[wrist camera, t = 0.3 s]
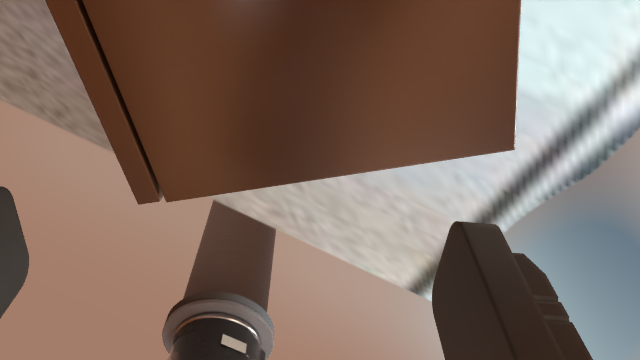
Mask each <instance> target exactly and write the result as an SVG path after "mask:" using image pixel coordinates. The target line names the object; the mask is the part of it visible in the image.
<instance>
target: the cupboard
mask: <svg viewBox="0 0 640 360" xmlns="http://www.w3.org/2000/svg"><path fill="white" fill-rule="evenodd" d="M82 1H83V4H84V6H85V8H86V11H87V13H88V16H89V18H90V20H91V23H92V25H93V28H94V30H95V32H96V35H97V37H98V40H99V42H100V44H101V47H102V49H103V52H104V54H105V56H106V59H107V61H108V64H109V66H110V68H111V71H112V73H113V76H114V78H115V80H116V83H117V85H118V88H119V90H120V92H121V95H122V97H123V99H124V102H125V104H126V107H127V109H128V111H129V114H130V116H131V119H132V121H133V123H134V126H135V128H136V131H137V133H138V135H139V138H140V140H141V143H142V145H143V147H144V150H145V152H146V155H147V157H148V159H149V162H150V164H151V167H152V169H153V171H154V174H155V176H156V179H157V181H158V183H159V186H160V188H161V191H162V193H163V195H164V198H165V200H166V202H172V201H179V200H185V199H192V198H198V197H205V196H212V195H219V194H225V193H232V192H239V191H245V190H252V189H258V188H265V187H272V186H278V185H285V184H292V183H298V182H305V181H311V180H318V179H325V178H331V177H338V176H345V175H351V174H358V173H365V172H371V171H378V170H384V169H391V168H398V167H404V166H411V165H418V164H424V163H431V162H437V161H444V160H451V159H457V158H464V157H471V156H477V155H484V154H491V153H497V152H504V151H510V150H515V137H516V112H517V87H518V62H519V38H520V13H521V0H82Z"/></svg>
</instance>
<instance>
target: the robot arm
mask: <svg viewBox="0 0 640 360" xmlns="http://www.w3.org/2000/svg"><path fill="white" fill-rule="evenodd" d="M28 268H29V254H28V250H27V246H26V243H25V239H24V235H23V232H22V228H21V225H20V221H19V217H18V214H17V210H16V207H15V203H14V199H13V197H12V195H11V193H10V191H9V190H8V189H7V188H5V187H0V318H1V317H2V315H3V314H4V312H5V311H6V309H7V308H8V307H9V305H10V304H11V302H12V301H13V299H14V298H15V297H16V295H17V294H18V292H19V290H20V289H21V288H22V286H23V284H24V282H25V279H26V276H27V273H28ZM432 307H433V314H434V318H435V322H436V326H437V330H438V333H439V337H440V341H441V345H442V349H443V353H444V357H445V360H593V359H592V357H591V356H590V354H589V352H588V350H587V348H586V346H585V345H584V343H583V341H582V339H581V338H580V336H579V334H578V332H577V330H576V328H575V327H574V325H573V323H572V322H569V316H568V314H567V312H566V311H565V309H564V307H563V306H562V303H561V302H558V296H557V294H556V292H555V291H554V289H553V287H552V285H551V283H550V282H549V280H548V278H547V276H546V274H545V273H543V272H542V271H541V270H540V269H539V268H538V267H537V266H536V265H535V264H534V263H533V262H532V261H531V260H530V259H529V258H527V257H526V256H525V255H524V254H520V253H512V252H511V250H510V248H509V246H508V244H507V242H506V240H505V238H504V236H503V234H502V232H501V230H500V228H499V227H498V226H497V225H495V224H484V223H471V222H458V221H456V222H454V223H453V224H452V226H451V228H450V230H449V233H448V237H447V240H446V243H445V247H444V250H443V253H442V256H441V260H440V263H439V266H438V270H437V273H436V276H435V280H434V284H433V290H432ZM265 355H266V353H265V352H264V351H263V350H262V349H261V338H260V335H259V333H258V332H257V330H256V329H255V328H254V327H253V326H252V325H251V324H250V323H249V322H247V321H246V320H244V319H242V318H240V317H238V316H235V315H232V314H228V313H223V312H204V313H199V314H195V315H193V316H190V317H188V318H187V319H185V320H184V321H182V322H181V323H180V324H179V326H178V327H177V329H176V331H175V334H174V337H173V344H172V347H171V350H170V354H169V357H168V360H265Z"/></svg>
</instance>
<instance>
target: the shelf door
mask: <svg viewBox="0 0 640 360" xmlns="http://www.w3.org/2000/svg"><path fill="white" fill-rule="evenodd" d="M45 1H46V3H47V5H48V7H49V10H50V12H51V14H52V16H53V18H54V21H55V23H56V25H57V27H58V29H59V32H60V34H61V36H62V38H63V40H64V42H65V45H66V47H67V49H68V51H69V53H70V56H71V58H72V60H73V62H74V64H75V67H76V69H77V71H78V73H79V75H80V78H81V80H82V82H83V84H84V86H85V89H86V91H87V93H88V95H89V97H90V100H91V102H92V104H93V106H94V108H95V111H96V113H97V115H98V117H99V119H100V122H101V124H102V126H103V128H104V130H105V132H106V135H107V137H108V139H109V141H110V143H111V146H112V148H113V150H114V152H115V154H116V157H117V159H118V161H119V163H120V165H121V167H122V170H123V172H124V174H125V176H126V179H127V181H128V183H129V185H130V187H131V190H132V192H133V194H134V196H135V198H136V200H137V202H138V204H145V203H152V202H159V201H161V199H162V197H163V193H162V191H161V188H160V186H159V183H158V181H157V179H156V176H155V174H154V171H153V169H152V167H151V164H150V162H149V159H148V157H147V155H146V152H145V150H144V147H143V145H142V143H141V140H140V138H139V135H138V133H137V131H136V128H135V126H134V123H133V121H132V119H131V116H130V114H129V111H128V109H127V107H126V104H125V102H124V99H123V97H122V95H121V92H120V90H119V88H118V85H117V83H116V80H115V78H114V76H113V73H112V71H111V68H110V66H109V64H108V61H107V59H106V56H105V54H104V52H103V49H102V47H101V44H100V42H99V40H98V37H97V35H96V32H95V30H94V28H93V25H92V23H91V20H90V18H89V16H88V13H87V11H86V8H85V6H84V4H83V1H82V0H45Z"/></svg>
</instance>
